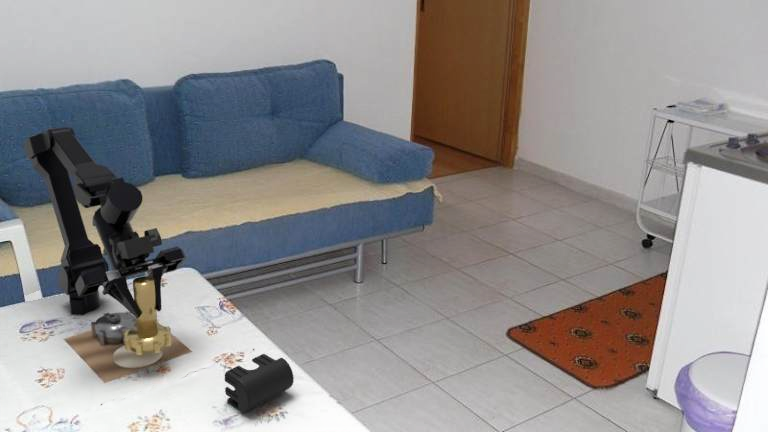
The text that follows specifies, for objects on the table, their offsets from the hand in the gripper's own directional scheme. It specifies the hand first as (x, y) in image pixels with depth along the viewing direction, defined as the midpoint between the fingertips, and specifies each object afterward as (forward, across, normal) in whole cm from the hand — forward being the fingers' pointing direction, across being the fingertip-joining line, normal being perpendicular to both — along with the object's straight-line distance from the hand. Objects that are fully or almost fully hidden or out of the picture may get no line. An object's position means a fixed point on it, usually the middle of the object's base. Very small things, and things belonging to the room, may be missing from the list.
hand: (149, 313), depth 134 cm
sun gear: (-3, 0, +20) cm, 20 cm away
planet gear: (+4, 0, +6) cm, 7 cm away
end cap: (+22, +11, -4) cm, 25 cm away
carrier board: (+2, 0, +17) cm, 17 cm away
